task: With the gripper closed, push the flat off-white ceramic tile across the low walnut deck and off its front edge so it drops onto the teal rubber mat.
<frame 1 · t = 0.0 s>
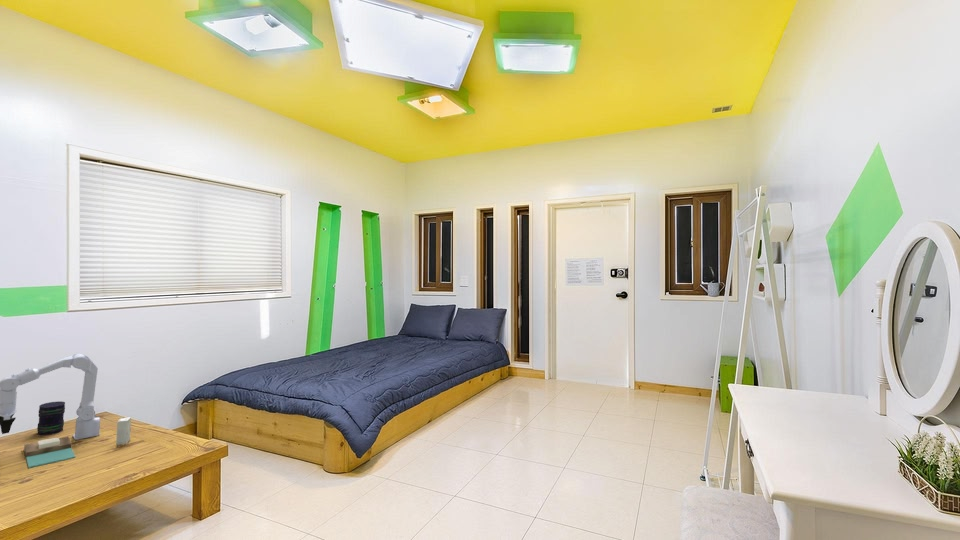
hand: (5, 430, 194), 10 cm above the table, fingers open, 7 cm apart
walnut deck: (47, 449, 200), on the table
ceramic tile: (48, 445, 199), point 2 cm above the table, touching walnut deck
skincare box: (122, 442, 212), on the table
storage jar: (50, 432, 219), on the table
teal mat: (50, 458, 191), on the table
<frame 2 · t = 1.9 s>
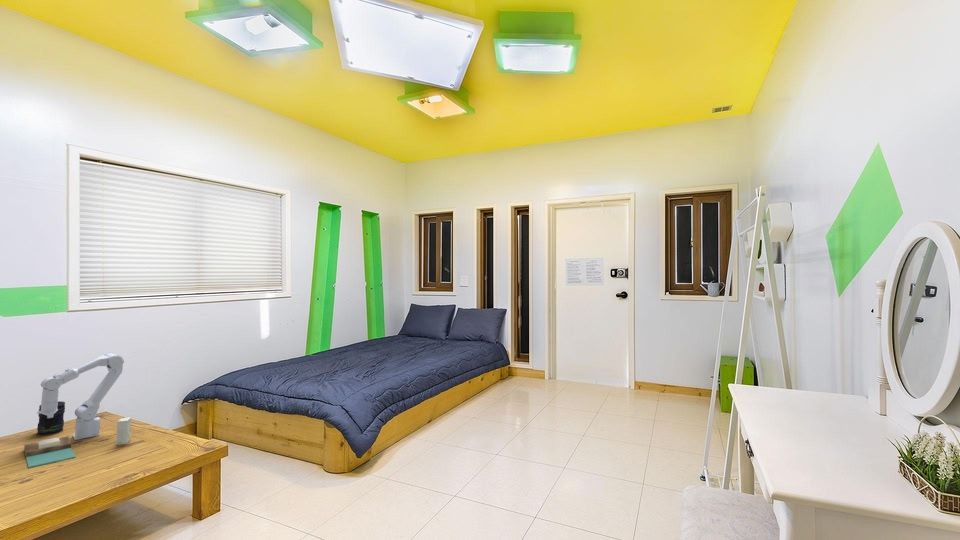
hand: (47, 428, 204), 8 cm above the table, fingers closed
nothing on the table moved.
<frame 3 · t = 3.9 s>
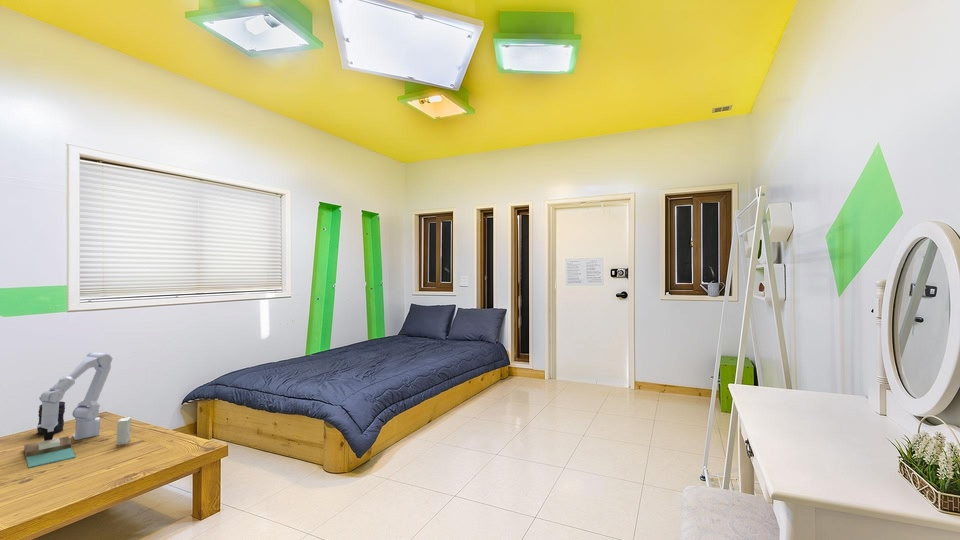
hand: (48, 442, 200), 3 cm above the table, fingers closed
ceramic tile: (48, 445, 198), point 3 cm above the table, touching gripper, walnut deck
everything else where it was.
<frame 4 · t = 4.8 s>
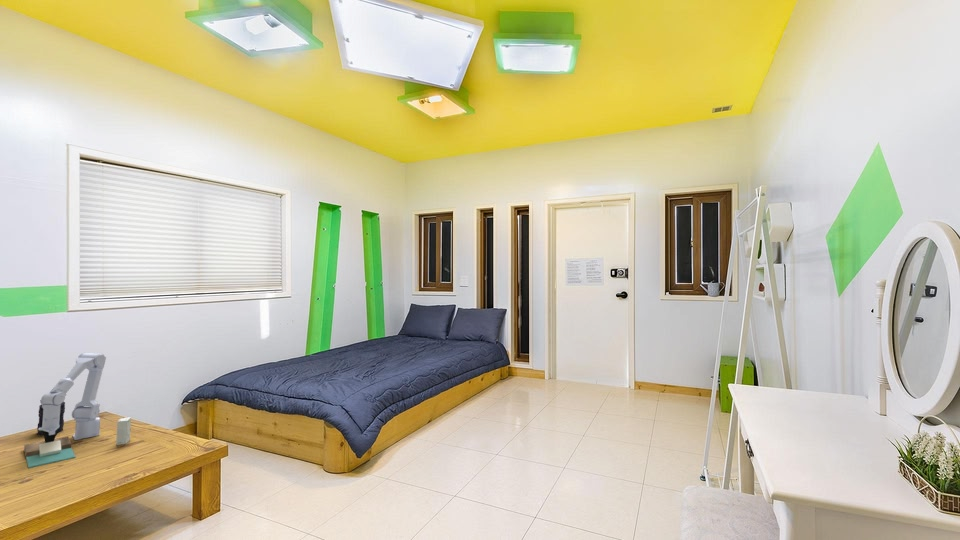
hand: (49, 445, 197), 3 cm above the table, fingers closed
ceramic tile: (49, 449, 195), point 2 cm above the table, tilted 29°, touching gripper
everything else where it was.
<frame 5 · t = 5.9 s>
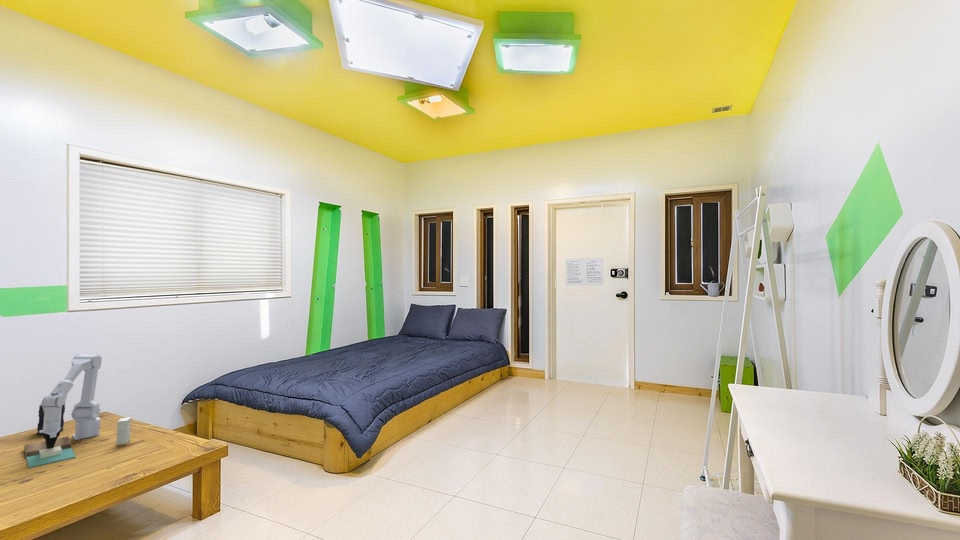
hand: (50, 448, 194), 3 cm above the table, fingers closed
ceramic tile: (50, 454, 194), point 1 cm above the table, touching teal mat
everything else where it was.
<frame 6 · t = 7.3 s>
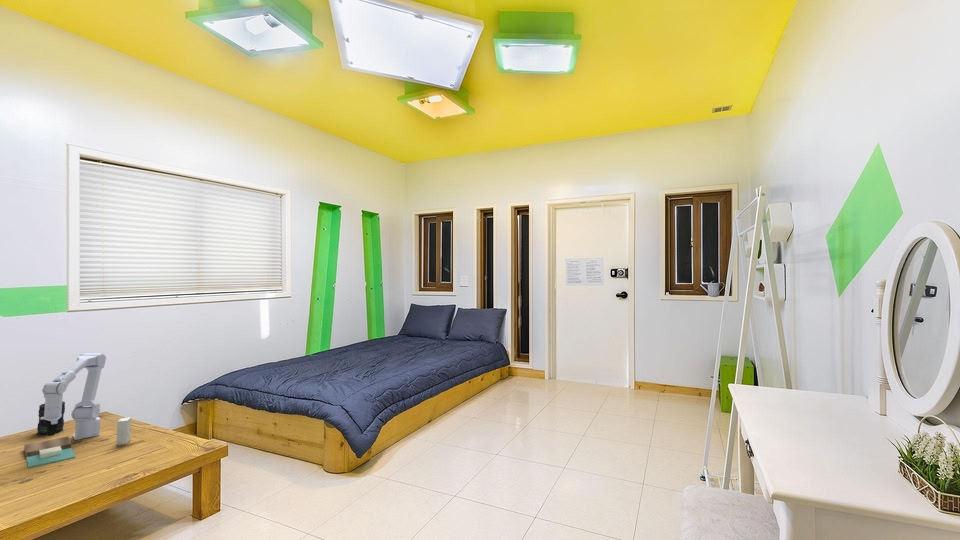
hand: (51, 435, 195), 9 cm above the table, fingers closed
nothing on the table moved.
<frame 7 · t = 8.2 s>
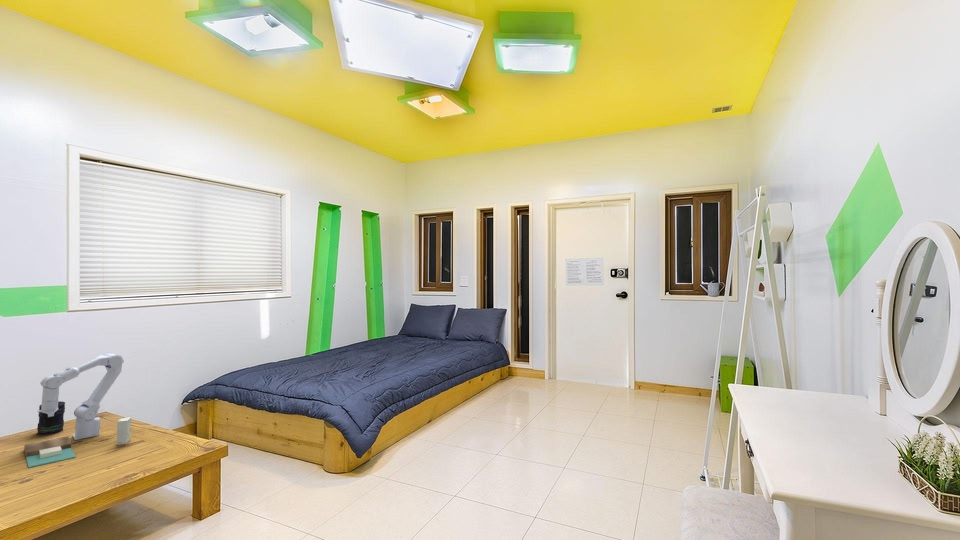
hand: (48, 427, 203), 9 cm above the table, fingers closed
nothing on the table moved.
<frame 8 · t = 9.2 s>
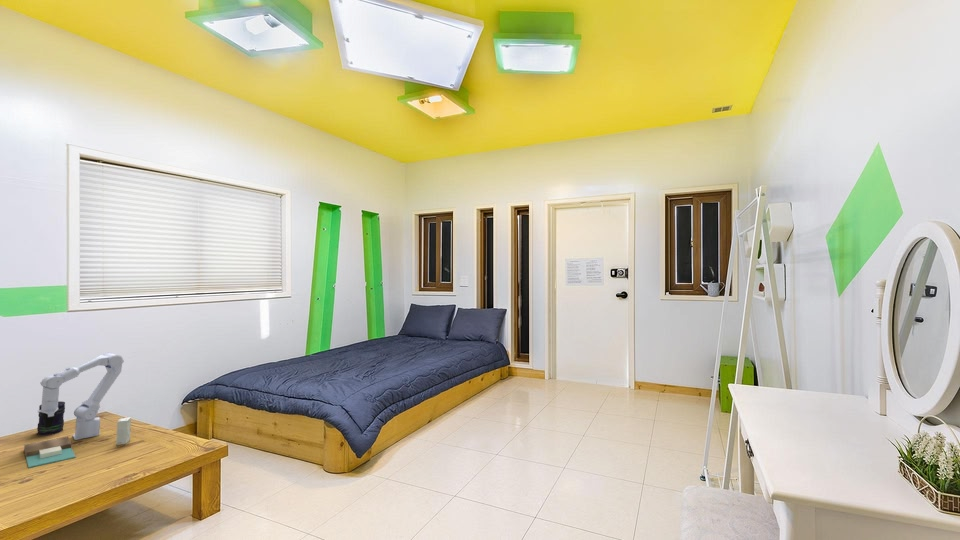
hand: (48, 427, 203), 9 cm above the table, fingers closed
nothing on the table moved.
at the end: ceramic tile inside the target area (3.8 cm from its centre), point 0.6 cm above the table; ceramic tile touching teal mat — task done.
